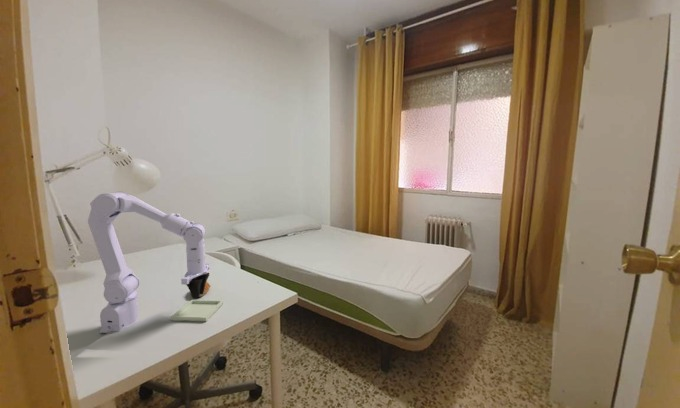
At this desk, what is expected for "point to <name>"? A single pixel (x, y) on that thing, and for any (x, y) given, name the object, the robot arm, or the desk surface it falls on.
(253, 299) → the desk surface
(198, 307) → the tray
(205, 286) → the pastry
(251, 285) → the desk surface
